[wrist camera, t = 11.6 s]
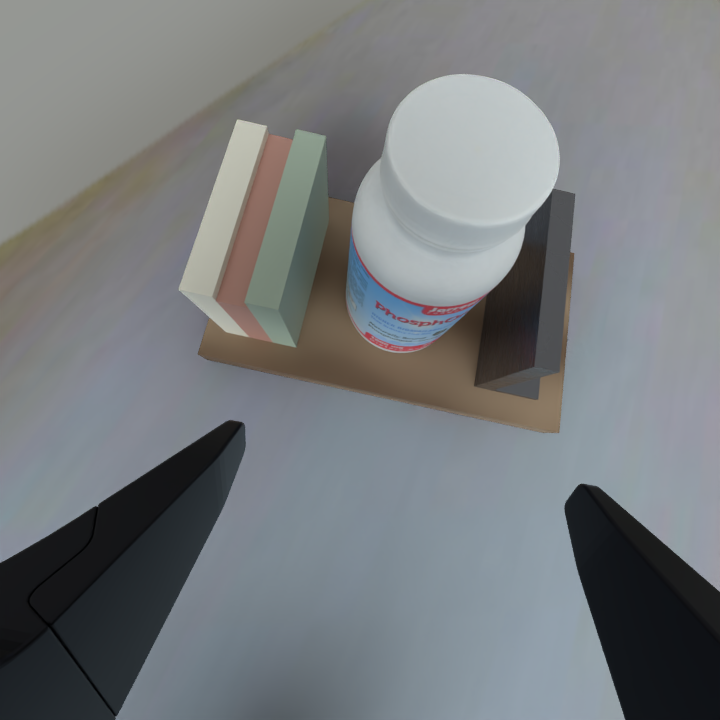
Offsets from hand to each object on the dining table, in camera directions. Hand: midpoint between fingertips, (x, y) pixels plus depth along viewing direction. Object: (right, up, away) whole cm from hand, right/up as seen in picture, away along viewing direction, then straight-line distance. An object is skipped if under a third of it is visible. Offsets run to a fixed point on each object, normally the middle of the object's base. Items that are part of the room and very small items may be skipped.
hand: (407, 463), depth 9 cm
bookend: (+8, +5, +11) cm, 14 cm away
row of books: (-6, +8, +10) cm, 14 cm away
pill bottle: (+1, +6, +11) cm, 12 cm away
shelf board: (+1, +6, +12) cm, 13 cm away
